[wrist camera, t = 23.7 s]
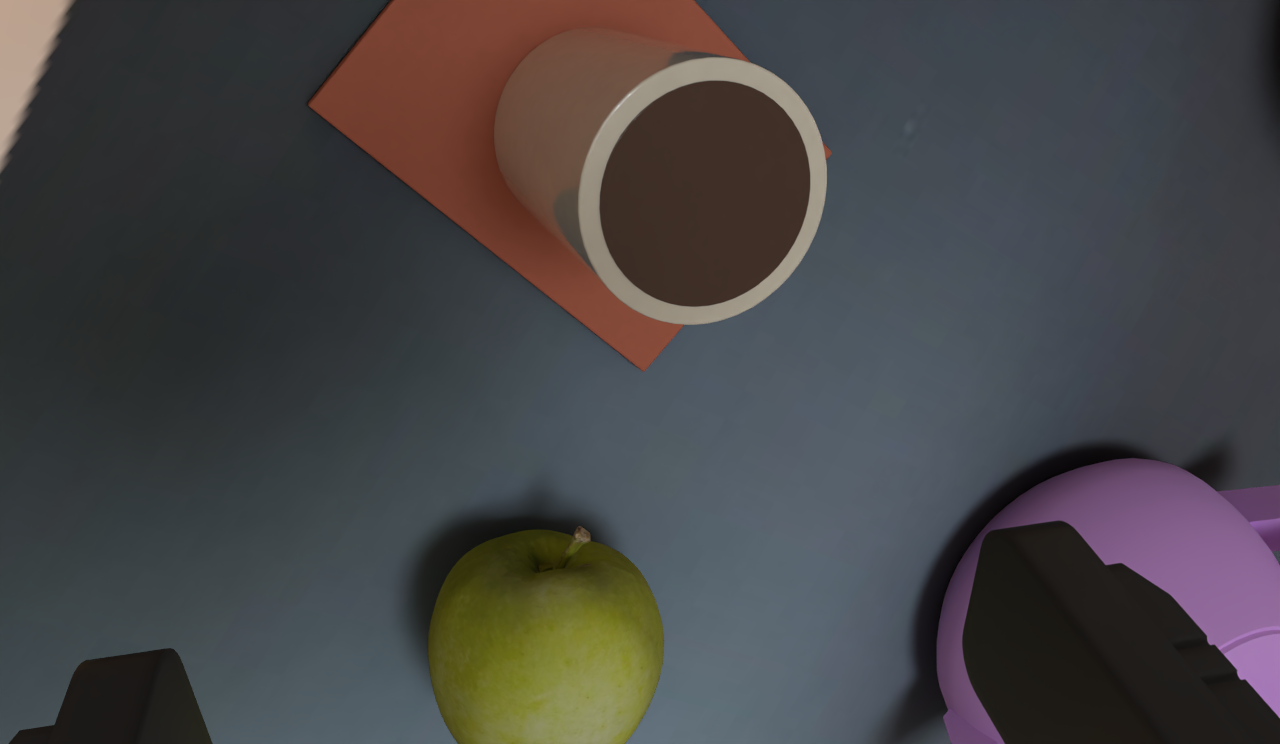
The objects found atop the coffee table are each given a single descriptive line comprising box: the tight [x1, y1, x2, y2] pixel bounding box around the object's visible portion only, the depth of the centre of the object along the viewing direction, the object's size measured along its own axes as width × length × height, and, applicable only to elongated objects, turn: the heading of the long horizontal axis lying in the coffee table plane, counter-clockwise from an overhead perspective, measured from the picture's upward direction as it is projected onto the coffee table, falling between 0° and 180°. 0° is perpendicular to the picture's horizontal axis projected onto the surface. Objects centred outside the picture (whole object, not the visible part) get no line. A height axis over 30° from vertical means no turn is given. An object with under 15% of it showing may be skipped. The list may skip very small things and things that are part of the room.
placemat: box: [308, 0, 832, 371], centre depth 32 cm, size 14×10×1 cm
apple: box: [428, 526, 664, 744], centre depth 34 cm, size 8×9×8 cm
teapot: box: [937, 458, 1280, 744], centre depth 43 cm, size 22×16×12 cm
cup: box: [494, 27, 827, 325], centre depth 28 cm, size 6×6×9 cm
